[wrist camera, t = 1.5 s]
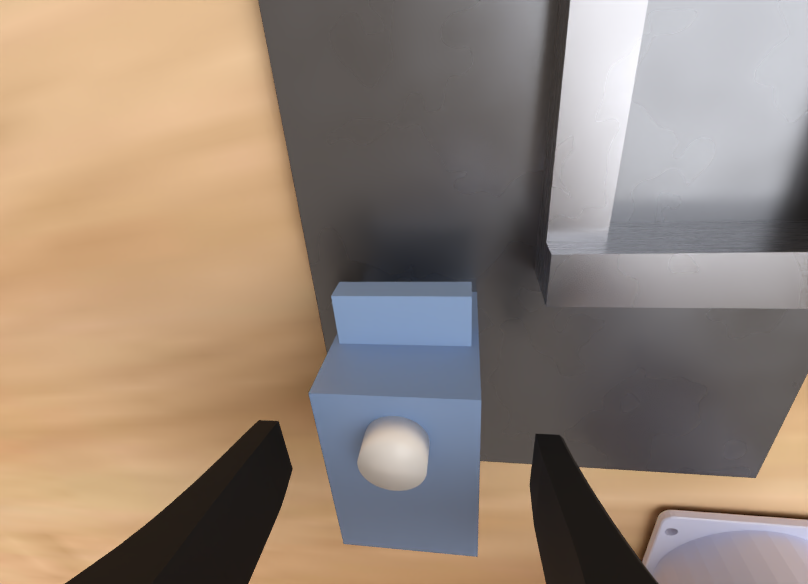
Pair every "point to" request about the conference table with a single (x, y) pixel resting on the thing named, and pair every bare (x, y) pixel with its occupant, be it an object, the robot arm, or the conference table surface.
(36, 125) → the conference table surface
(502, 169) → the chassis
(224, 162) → the conference table surface
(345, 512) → the servo
